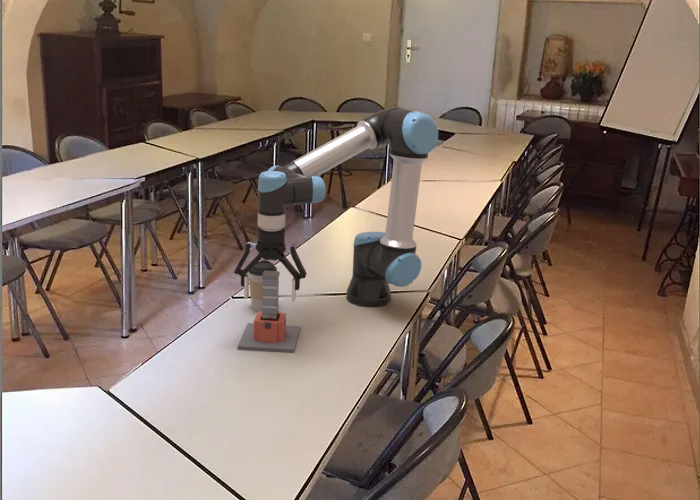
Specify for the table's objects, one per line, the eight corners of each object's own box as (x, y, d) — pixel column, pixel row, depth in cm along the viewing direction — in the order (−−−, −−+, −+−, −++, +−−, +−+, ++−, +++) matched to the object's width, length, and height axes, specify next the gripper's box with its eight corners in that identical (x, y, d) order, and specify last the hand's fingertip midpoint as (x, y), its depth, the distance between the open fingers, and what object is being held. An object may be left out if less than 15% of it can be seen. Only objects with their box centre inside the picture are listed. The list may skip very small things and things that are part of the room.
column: (278, 332, 210) (279, 271, 205) (276, 338, 206) (277, 276, 200) (263, 331, 211) (264, 270, 205) (261, 337, 206) (261, 275, 200)
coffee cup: (271, 314, 226) (272, 269, 221) (244, 310, 227) (244, 266, 223) (280, 303, 234) (280, 260, 230) (253, 300, 236) (253, 257, 231)
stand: (300, 329, 216) (300, 307, 214) (293, 352, 201) (294, 329, 199) (247, 326, 217) (247, 304, 214) (237, 349, 201) (237, 325, 199)
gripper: (317, 226, 201) (314, 296, 208) (229, 221, 202) (229, 290, 209) (314, 234, 194) (312, 306, 201) (223, 228, 195) (224, 300, 202)
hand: (270, 298), depth 205 cm, fingers open, 13 cm apart
